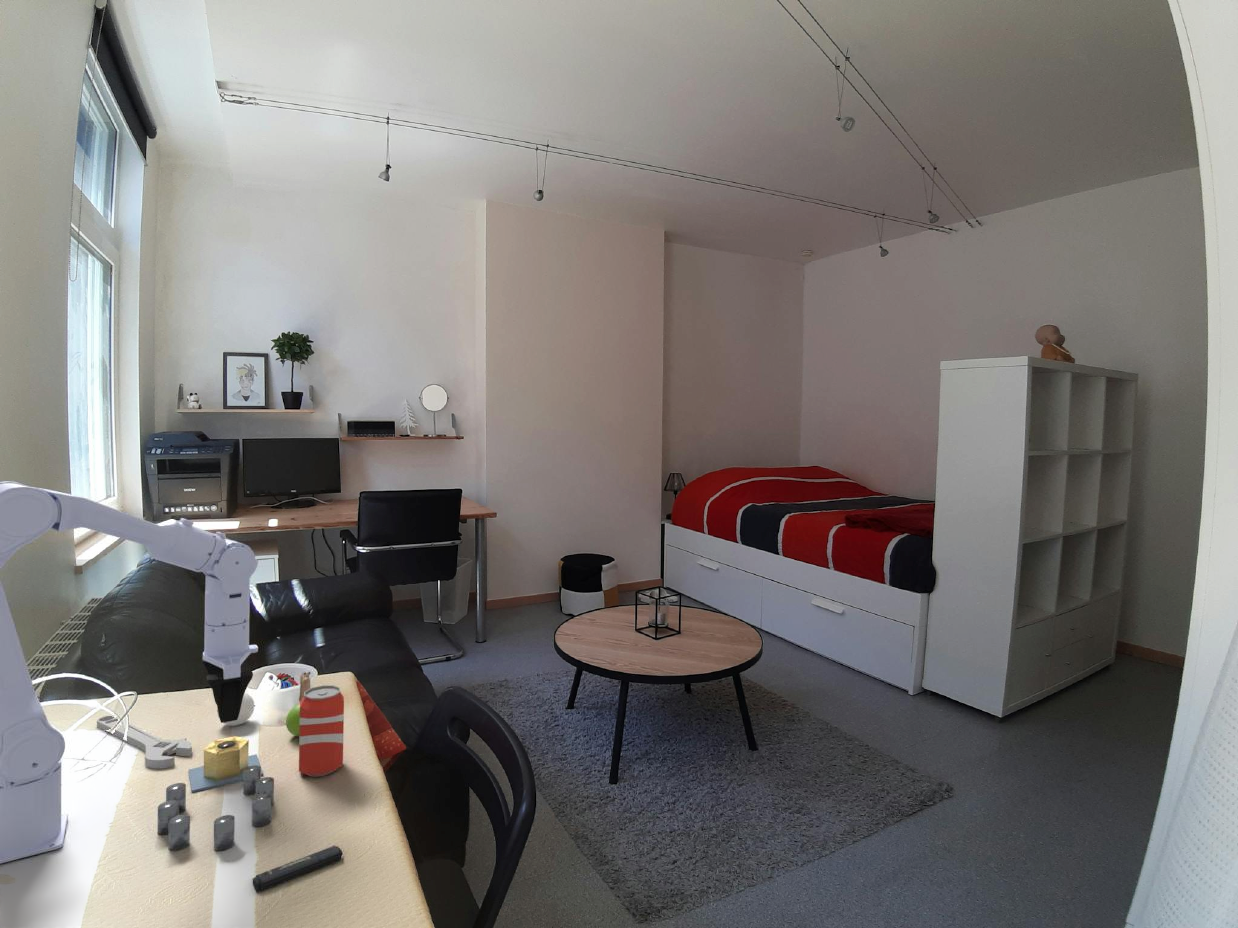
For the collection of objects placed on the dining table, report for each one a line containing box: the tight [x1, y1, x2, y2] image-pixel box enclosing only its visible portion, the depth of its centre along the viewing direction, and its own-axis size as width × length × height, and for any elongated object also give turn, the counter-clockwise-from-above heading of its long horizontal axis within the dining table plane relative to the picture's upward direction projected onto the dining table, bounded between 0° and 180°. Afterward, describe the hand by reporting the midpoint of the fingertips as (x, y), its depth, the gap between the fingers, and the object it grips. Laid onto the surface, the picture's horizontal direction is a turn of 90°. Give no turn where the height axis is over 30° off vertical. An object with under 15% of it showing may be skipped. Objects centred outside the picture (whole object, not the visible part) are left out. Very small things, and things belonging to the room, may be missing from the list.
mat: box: [188, 754, 264, 793], centre depth 98 cm, size 9×7×1 cm
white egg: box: [216, 692, 256, 727], centre depth 115 cm, size 8×6×6 cm
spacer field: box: [157, 765, 275, 852], centre depth 86 cm, size 13×14×3 cm
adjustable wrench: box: [96, 714, 193, 769], centre depth 108 cm, size 25×6×2 cm, turn 55°
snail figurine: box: [285, 671, 312, 737], centre depth 111 cm, size 5×6×12 cm
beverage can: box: [298, 684, 345, 777], centre depth 100 cm, size 6×6×12 cm
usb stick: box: [252, 845, 344, 893], centre depth 77 cm, size 10×3×2 cm, turn 132°
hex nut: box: [203, 735, 250, 781], centre depth 98 cm, size 6×5×4 cm
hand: (226, 711), depth 98 cm, fingers open, 7 cm apart
